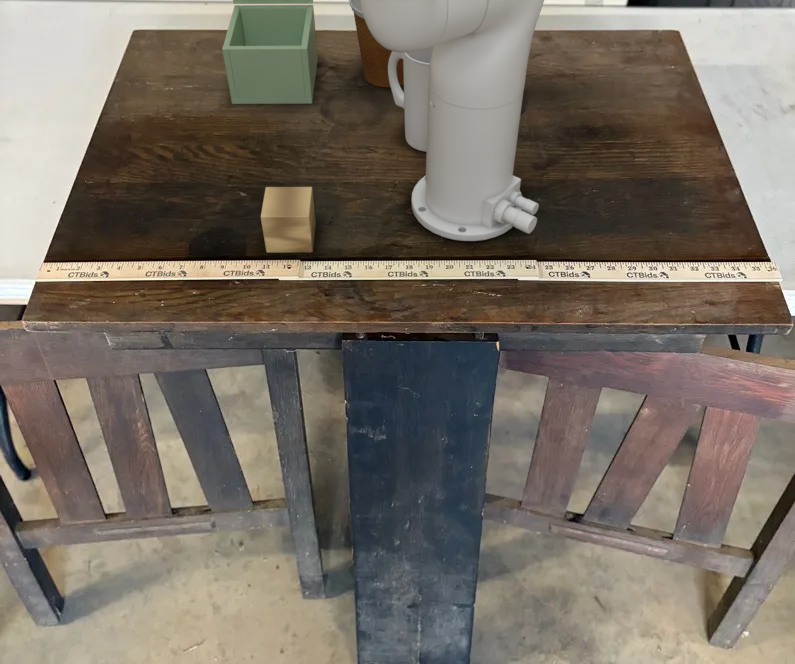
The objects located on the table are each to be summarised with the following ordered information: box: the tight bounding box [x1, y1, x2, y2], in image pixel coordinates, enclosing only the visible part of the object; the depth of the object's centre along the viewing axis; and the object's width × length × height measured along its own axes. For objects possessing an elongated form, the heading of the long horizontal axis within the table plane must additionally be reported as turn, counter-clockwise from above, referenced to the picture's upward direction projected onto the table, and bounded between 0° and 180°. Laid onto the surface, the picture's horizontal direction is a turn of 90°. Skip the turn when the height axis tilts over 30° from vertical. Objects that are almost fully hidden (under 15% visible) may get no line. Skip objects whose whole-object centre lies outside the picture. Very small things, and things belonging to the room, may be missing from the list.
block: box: [260, 186, 317, 254], centre depth 86 cm, size 5×5×5 cm
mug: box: [388, 46, 434, 153], centre depth 96 cm, size 10×7×12 cm, turn 50°
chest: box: [221, 4, 319, 105], centre depth 106 cm, size 12×11×8 cm
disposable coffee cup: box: [348, 0, 404, 88], centre depth 105 cm, size 10×10×12 cm
